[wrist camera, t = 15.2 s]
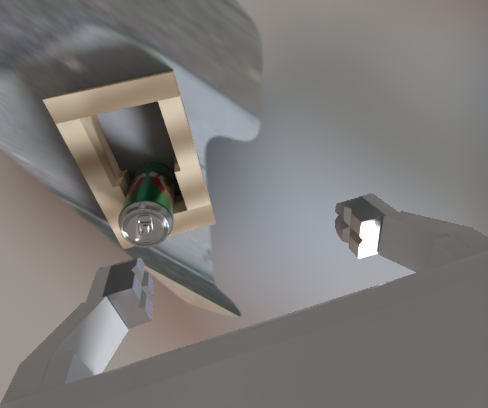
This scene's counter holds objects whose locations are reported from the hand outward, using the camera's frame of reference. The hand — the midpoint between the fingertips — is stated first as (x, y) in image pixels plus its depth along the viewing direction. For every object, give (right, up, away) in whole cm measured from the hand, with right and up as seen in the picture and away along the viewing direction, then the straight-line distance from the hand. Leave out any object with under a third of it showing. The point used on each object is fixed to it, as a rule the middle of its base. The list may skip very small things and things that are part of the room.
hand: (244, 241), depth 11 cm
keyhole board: (-12, +7, +23) cm, 27 cm away
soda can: (-12, +5, +24) cm, 28 cm away
